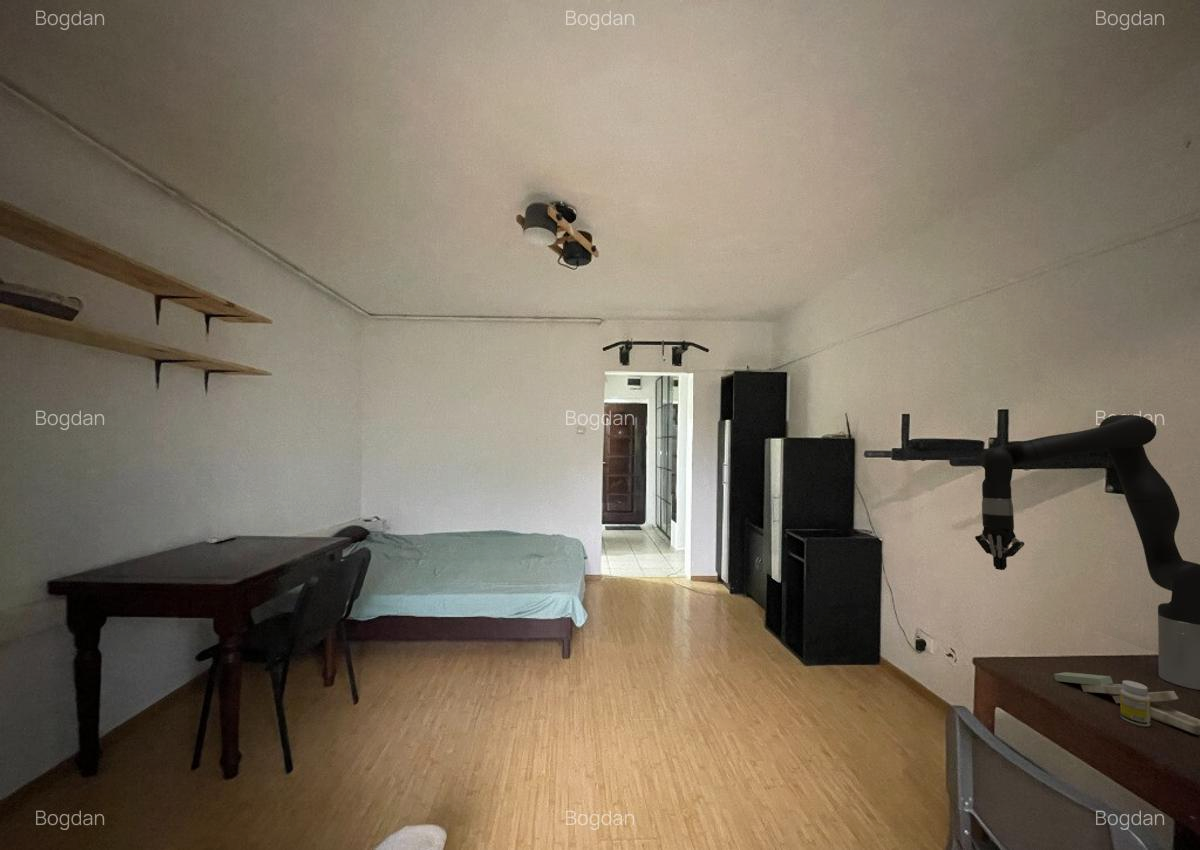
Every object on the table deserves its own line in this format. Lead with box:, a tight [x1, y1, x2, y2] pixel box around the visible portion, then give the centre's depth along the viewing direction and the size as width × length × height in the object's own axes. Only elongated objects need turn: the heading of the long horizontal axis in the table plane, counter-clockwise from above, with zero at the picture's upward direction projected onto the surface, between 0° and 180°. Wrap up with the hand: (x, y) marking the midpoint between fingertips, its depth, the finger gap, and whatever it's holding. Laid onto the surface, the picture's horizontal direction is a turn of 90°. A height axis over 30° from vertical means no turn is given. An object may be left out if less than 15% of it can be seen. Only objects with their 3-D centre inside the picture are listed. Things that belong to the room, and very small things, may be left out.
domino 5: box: [1151, 716, 1200, 736], centre depth 112 cm, size 5×2×10 cm
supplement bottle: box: [1119, 680, 1152, 727], centre depth 112 cm, size 5×5×8 cm
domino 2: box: [1080, 683, 1123, 695], centre depth 122 cm, size 5×2×10 cm
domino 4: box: [1150, 701, 1200, 735], centre depth 112 cm, size 5×2×10 cm
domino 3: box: [1112, 690, 1180, 704], centre depth 117 cm, size 5×2×10 cm
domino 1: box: [1053, 671, 1114, 686], centre depth 128 cm, size 5×2×10 cm
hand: (1000, 569), depth 149 cm, fingers closed
